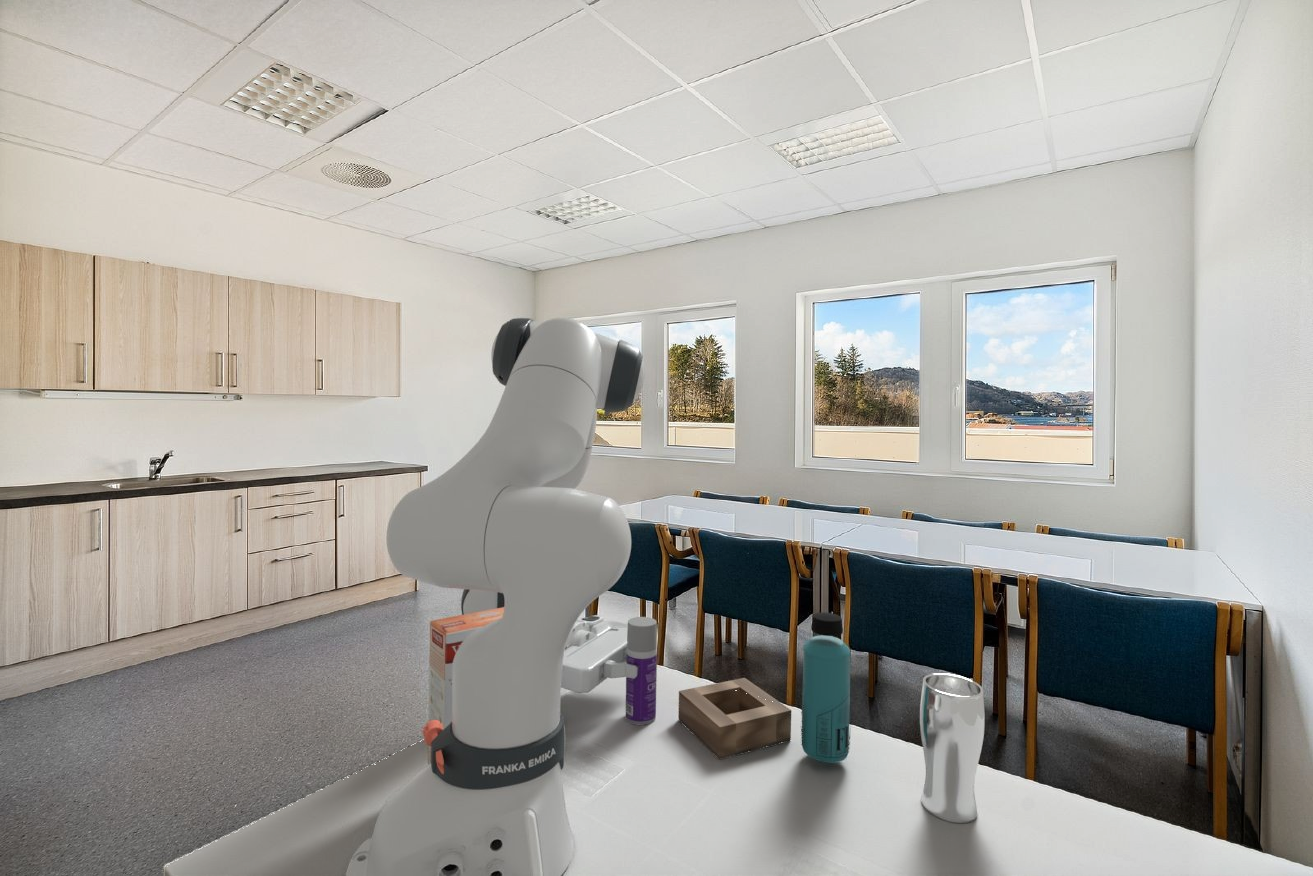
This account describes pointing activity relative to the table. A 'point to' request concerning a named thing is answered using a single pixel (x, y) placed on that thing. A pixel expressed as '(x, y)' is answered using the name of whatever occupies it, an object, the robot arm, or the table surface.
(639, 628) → the container
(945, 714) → the beer glass
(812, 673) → the beverage bottle
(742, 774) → the table surface
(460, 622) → the cracker box
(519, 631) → the robot arm
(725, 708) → the socket block
